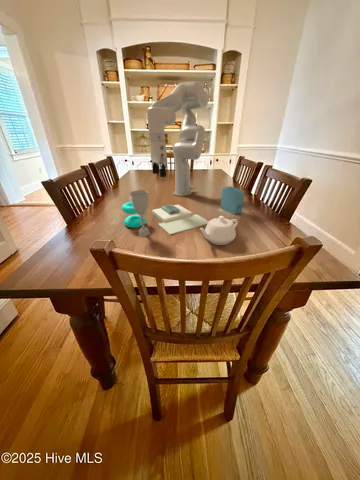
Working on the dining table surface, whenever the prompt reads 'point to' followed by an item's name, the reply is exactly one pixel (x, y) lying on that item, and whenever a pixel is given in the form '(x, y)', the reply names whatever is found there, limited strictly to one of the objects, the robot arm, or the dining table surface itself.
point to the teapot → (220, 230)
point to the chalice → (141, 208)
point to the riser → (166, 217)
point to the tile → (170, 209)
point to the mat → (183, 224)
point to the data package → (232, 200)
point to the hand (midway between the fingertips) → (159, 175)
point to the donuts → (132, 216)
